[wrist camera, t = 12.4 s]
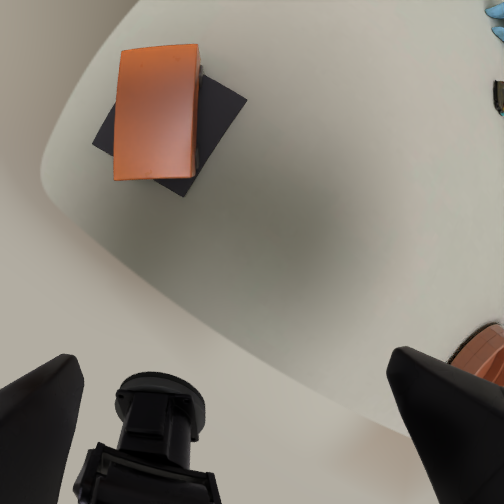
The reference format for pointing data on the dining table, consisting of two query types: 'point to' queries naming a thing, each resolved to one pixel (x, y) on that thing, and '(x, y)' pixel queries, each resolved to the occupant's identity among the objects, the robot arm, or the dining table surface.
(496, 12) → the chair
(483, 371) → the bowl
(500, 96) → the race car
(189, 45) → the orange block
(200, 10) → the dining table surface
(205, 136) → the mat
